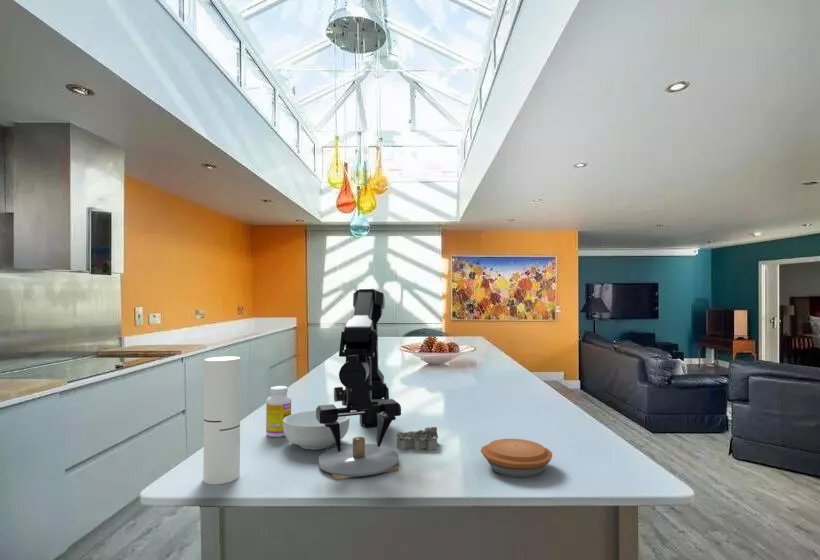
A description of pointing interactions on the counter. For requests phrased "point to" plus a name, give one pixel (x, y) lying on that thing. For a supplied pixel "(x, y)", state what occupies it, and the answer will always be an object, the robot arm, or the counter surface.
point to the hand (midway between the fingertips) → (358, 448)
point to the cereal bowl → (311, 430)
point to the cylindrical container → (221, 419)
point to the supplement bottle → (277, 410)
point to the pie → (516, 457)
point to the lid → (358, 459)
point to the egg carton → (418, 439)
